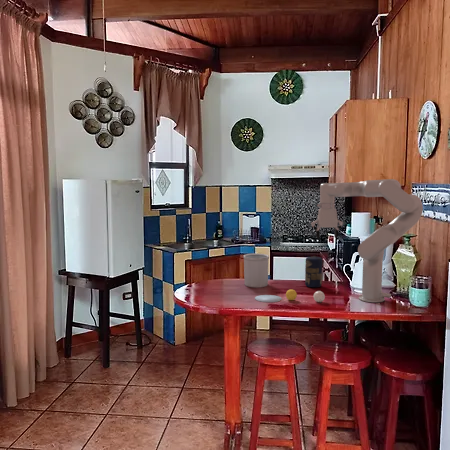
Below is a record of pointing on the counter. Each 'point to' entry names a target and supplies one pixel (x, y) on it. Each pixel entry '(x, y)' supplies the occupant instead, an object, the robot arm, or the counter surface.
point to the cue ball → (319, 296)
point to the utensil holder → (256, 270)
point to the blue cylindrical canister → (313, 271)
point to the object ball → (291, 294)
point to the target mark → (268, 298)
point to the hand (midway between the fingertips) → (327, 237)
